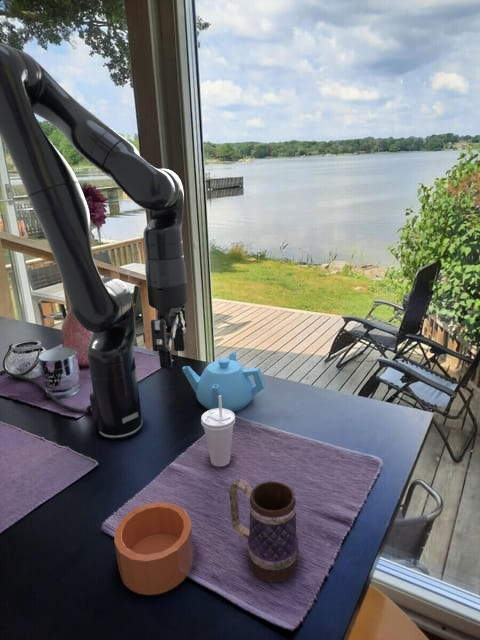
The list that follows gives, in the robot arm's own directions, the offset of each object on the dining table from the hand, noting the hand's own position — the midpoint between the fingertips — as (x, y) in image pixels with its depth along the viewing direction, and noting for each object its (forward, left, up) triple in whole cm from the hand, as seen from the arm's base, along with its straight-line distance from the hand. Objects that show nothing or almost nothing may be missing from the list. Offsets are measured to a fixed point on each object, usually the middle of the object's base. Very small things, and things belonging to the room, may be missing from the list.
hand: (173, 358), depth 89 cm
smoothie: (+11, -8, -18) cm, 22 cm away
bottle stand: (+7, -32, -17) cm, 37 cm away
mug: (+22, -29, -18) cm, 40 cm away
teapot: (+7, +15, -18) cm, 24 cm away
